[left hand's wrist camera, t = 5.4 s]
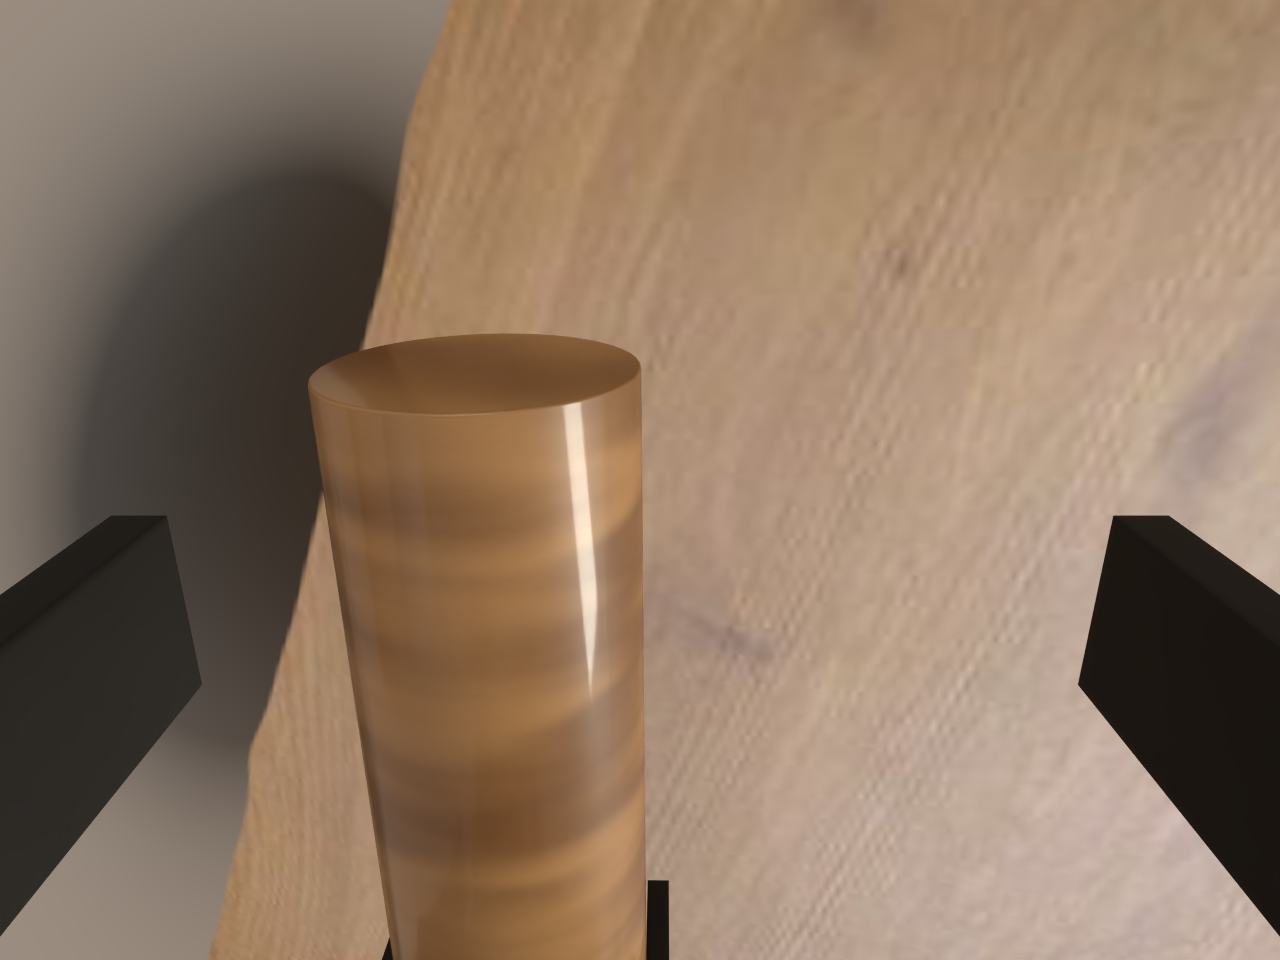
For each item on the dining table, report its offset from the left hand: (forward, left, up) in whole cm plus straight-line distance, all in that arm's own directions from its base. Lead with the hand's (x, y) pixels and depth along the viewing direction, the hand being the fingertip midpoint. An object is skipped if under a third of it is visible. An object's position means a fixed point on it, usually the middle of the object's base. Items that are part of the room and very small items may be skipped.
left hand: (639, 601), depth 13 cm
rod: (+12, +2, -14) cm, 19 cm away
